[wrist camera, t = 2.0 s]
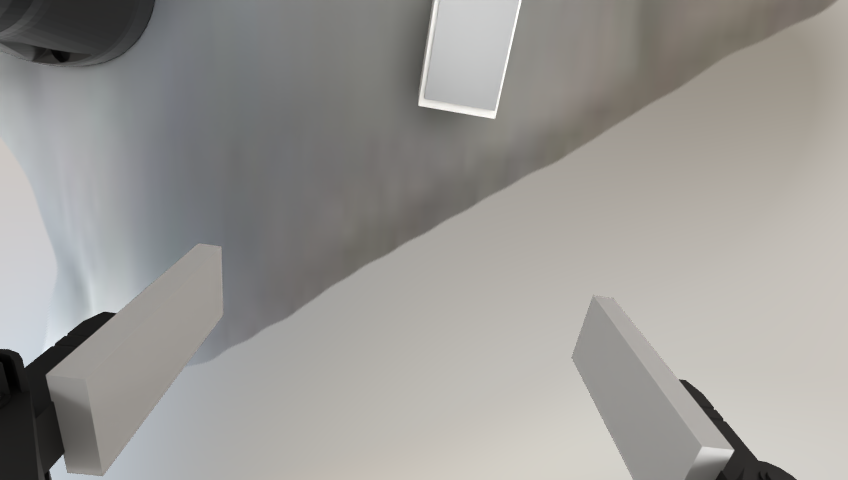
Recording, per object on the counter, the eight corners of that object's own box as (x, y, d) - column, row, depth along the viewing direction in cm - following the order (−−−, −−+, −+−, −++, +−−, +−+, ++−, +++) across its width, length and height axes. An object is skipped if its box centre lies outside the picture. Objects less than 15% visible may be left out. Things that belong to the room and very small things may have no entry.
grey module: (418, 90, 36) (418, 107, 24) (433, -6, 34) (440, -38, 22) (472, 99, 37) (497, 120, 25) (491, 5, 34) (529, -21, 22)
